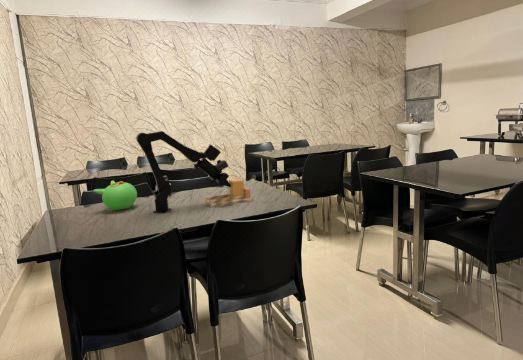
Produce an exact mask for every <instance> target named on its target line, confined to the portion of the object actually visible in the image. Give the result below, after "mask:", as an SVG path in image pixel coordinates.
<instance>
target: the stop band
mask: <svg viewBox="0 0 523 360" xmlns="http://www.w3.org/2000/svg"><path fill="white" fill-rule="evenodd" d="M244 195H246V199H250V195H251V189H250V188H249V187H246V186H245V185H244Z"/></svg>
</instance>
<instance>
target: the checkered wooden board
mask: <svg viewBox="0 0 523 360" xmlns="http://www.w3.org/2000/svg"><path fill="white" fill-rule="evenodd" d="M203 200H204V203H206V204H207V205H208V206H210V207H211V208H216V207H221V206H228V205H234V204H241V203H246V202H252V201H254V200H253V198H252V196H251V194H250V199H246V195H242V196H235V197H230V193H226V194H225V193H224V194H219V195H212V196H206V197H204V199H203Z"/></svg>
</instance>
